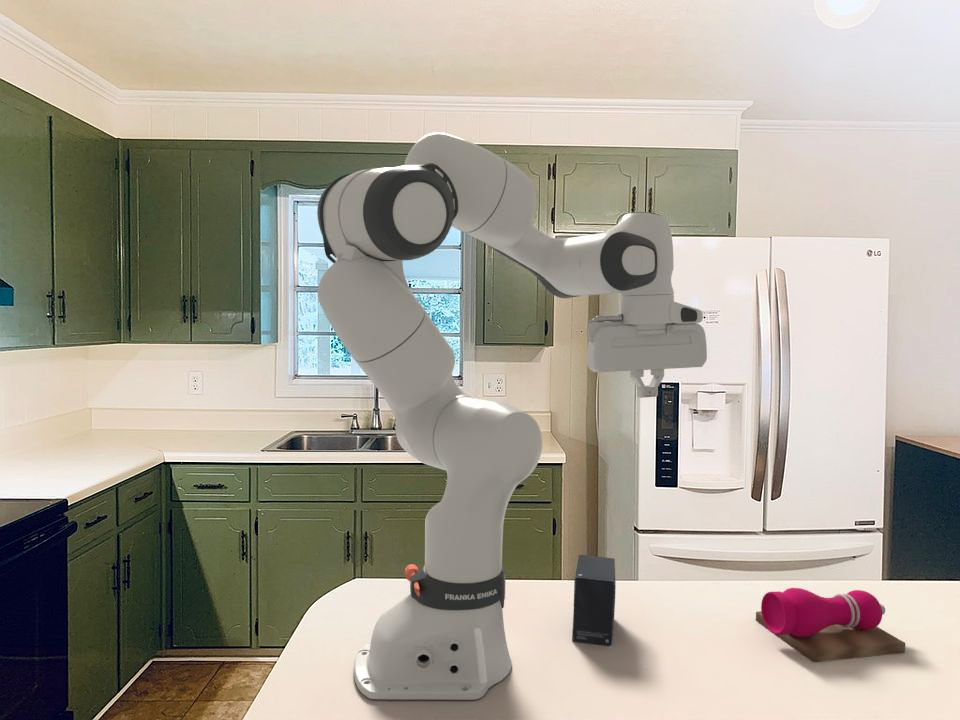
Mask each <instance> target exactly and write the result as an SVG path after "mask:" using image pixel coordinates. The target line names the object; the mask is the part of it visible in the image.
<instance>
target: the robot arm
mask: <svg viewBox="0 0 960 720" xmlns="http://www.w3.org/2000/svg"><path fill="white" fill-rule="evenodd" d="M537 201H538V199H537V192H536V188H535V185H534V182H533V180H532V179H531V178H530V177H529V176H528V175H527V174H526V173H525V172H524V171H522V170H521V169H520V168H519V167H517V166H516V165H515V164H513V163H511V162H510V161H508V160H506V159H505V158H503V157H501V156H499V155H498V154H496V153H494V152H492V151H490V150H488V149H486V148H484V147H482V146H480V145H478V144H475V143H474V142H471V141H469V140H467V139H464V138H461V137H458V136H455V135H452V134H448V133H445V132H432V133H428V134H426V135H424V136H422V137H421V138H420V139H418V141H416V142H415V144H414V145H413V146H412V147H411V148H410V150H409V152H408V154H407V155H406V158H405V161H404V165H399V166H394V167H370V168H367V169H362V170H358V171H356V172H353V173H352V172H351V173H347V174H344V175H341V176H339V177H337V178H336V179H335V180H333V181H332V182H331V183H330V184H328V185H327V186H326V188H325V189H324V190H323V192H322V193H321V196H320V197H319V200H318V204H317V211H316V213H317V214H316V215H317V222H318V227H319V229H320V234H321V236H322V241H323V247H324V248H323V249H324V253H325V256H326V258H327V259H328V260H329V261H330V262H331V263H332V264H331V265H330V266H329V268H328V269H326V270H325V272H324V274H323V275H322V277H321V279H320V280H319V283H318V287H317V298H318V302H319V305H320V306H321V309H322V311H323V313H324V315H325V317H326V319H327V321H328V322H329V324H330V326H331V328H332V329H333V332H334V333H335V334H336V336H337V338H338V340H340V342H341V344H342V346H343V347H344V348H345V350H346V351H347V353H349V355H350V356H351V357H352V359H353V360H354V361H355V363H356V364H357V365H358V366H359V367H360V368H361V370H362V371H363V373H364V374H365V375H366V376H367V377H368V379H369V380H370V381H371V382H372V384H373V385H374V386H375V388H376V389H377V390H378V391H379V393H380V394H381V395H382V397H383V399H384V400H385V401H386V403H387V405H388V406H389V408H390V411H391V412H392V414H393V417H394V419H395V426H394V428H395V435H396V436H395V437H396V440H397V442H398V444H399V445H400V447H401V449H403V450H404V452H406V453H407V454H408V455H410V456H412V457H413V458H414V459H416V460H417V461H419V462H420V463H422V464H424V465H427V466H430V467H432V468H436V469H440V470H443V471H445V472H446V475H447V477H446V478H447V479H446V486H445V490H444V492H443V496H442V499H441V500H440V501H439V502H437V503H436V504H434V505H433V506H432V507H431V508H430V509H429V510H428V512H427V514H426V517H425V520H424V565H423V566H422V567H421V568H420V569H419V568H418V566H417V565H416V564H413V563H412V564H411V563H410V564H408V565H406V567H405V568H404V575H405V578H406V580H407V581H409V584H410V585H409V588H410V591H409V594H407V596H405V597H404V598H402V600H400V601H399V602H397V603H396V604H395V605H393V606H392V607H390V608H389V609H388V610H387V611H385V612H384V613H383V614H381V615H380V616H379V617H378V619H377V621H376V622H375V625H374V628H373V631H372V635H371V639H370V642H369V643H366V644H364V645H362V647H361V648H360V649H359V650H358V652H357V653H356V656H355V659H354V664H353V665H354V666H353V677H354V682H355V684H356V687H357V688H358V690H359V691H360V693H361V694H362V695H364V696H365V697H367V698H368V699H371V700H435V701H436V700H440V701H441V700H443V701H444V700H449V701H450V700H458V701H459V700H460V701H461V700H462V701H463V700H464V701H465V700H467V701H468V700H469V701H471V700H472V701H473V700H479V699H481V698H483V696H485V694H486V693H487V692H488V690H489V689H490V688H491V687H492V686H493V685H495V684H498V683H499V682H501V681H502V680H504V679H505V678H506V677H507V676H508V675H509V673H510V672H511V670H512V658H511V656H510V652H509V648H508V644H507V638H506V631H505V624H504V614H503V612H504V611H503V609H504V607H505V599H506V576H505V569H504V568H503V539H504V538H503V537H504V536H503V535H504V522H505V515H506V511H507V507H508V504H509V502H510V499H511V497H512V495H513V493H514V491H515V489H516V488H517V487H518V486H519V484H520V483H521V482H523V481H524V480H526V479H527V478H528V477H529V476H530V475H531V474H532V473H533V472H534V470H535V469H536V468H537V465H538V464H539V462H540V459H541V455H542V451H543V439H542V438H543V437H542V432H541V428H540V426H539V424H538V422H537V421H536V419H535V418H534V417H533V416H532V415H531V414H529V413H527V412H525V411H523V410H521V409H519V408H517V407H515V406H513V405H510V404H509V403H506V402H503V401H496V400H490V399H484V398H479V397H474V396H470V395H469V394H467V393H466V392H464V391H463V390H462V389H461V388H460V387H459V386H458V385H457V383H456V380H455V379H454V376H453V371H454V369H455V366H456V365H455V364H456V355H455V353H454V350H453V348H452V347H451V345H450V344H449V342H448V341H447V340H446V338H445V337H444V336H443V333H442V332H441V331H440V330H439V328H438V327H437V325H436V324H435V323H434V321H433V319H432V318H431V317H430V315H429V314H428V312H427V311H426V309H425V308H424V307H423V305H422V304H421V302H420V301H419V300H418V299H417V297H416V295H414V293H413V292H412V291H411V289H410V286H409V284H408V282H407V280H406V276H405V273H404V266H403V265H404V263H403V261H412V260H416V259H420V258H422V257H426V256H427V255H430V254H431V253H433V252H434V251H435V250H437V249H438V248H439V247H440V246H441V245H442V244H443V243H444V241H445V240H446V238H447V236H448V234H449V233H450V230H451V228H454V229H456V230H459V231H460V232H462V233H464V234H466V235H468V236H471V237H473V238H474V239H477V240H479V241H481V242H482V243H484V244H485V245H486V246H488V247H489V248H491V249H492V250H494V251H495V252H497V253H498V254H500V255H502V256H503V257H505V258H506V259H508V260H510V261H512V262H514V263H515V264H517V265H518V266H520V267H522V268H524V269H526V270H527V271H528V272H530V273H531V274H533V275H534V276H535V277H536V278H537V280H538V281H539V282H540V283H541V284H542V285H543V286H544V288H545V289H546V290H547V291H548V292H549V293H551V294H552V295H553V296H555V297H556V298H560V299H570V298H577V297H581V296H597V295H600V296H601V295H610V294H618V314H609V315H607V314H606V315H604V314H599V315H595V316H594V318H592V319H590V320H589V322H588V323H587V326H586V330H587V332H586V334H587V339H588V343H587V353H586V354H587V355H586V366H587V368H588V369H589V370H590V371H591V372H593V373H611V372H612V373H613V372H614V373H617V372H628V371H629V373H630V377H629V378H631V380H632V381H633V383H634V385H635V387H636V396H637V398H641V399H642V398H644V399H645V398H657V397H658V396H659V388H658V387H659V386H660V385H661V384H662V383H661V382H662V381H663V379H664V377H665V370H668V369H669V370H670V369H688V368H689V369H690V368H702V367H704V365H705V364H706V362H707V357H708V354H707V353H708V347H707V336H706V332H705V329H704V327H703V326H702V325H701V324H699V323H702V321H703V319H704V317H703V316H704V314H703V311H702V310H700V309H699V308H695V307H692V306H689V305H686V304H683V303H680V302H677V301H675V293H674V292H675V291H674V288H673V284H672V275H673V271H674V265H675V264H674V243H673V235H672V231H671V227H670V223H669V221H668V219H667V218H666V217H664V216H663V215H662V214H660V213H655V212H648V211H634V212H630V213H627V214H624V215H623V216H622V218H621V221H619V222H618V223H617V224H615V225H614V226H613V227H611V228H609V229H607V230H604V232H598V233H594V234H587V235H580V236H573V237H560V238H559V237H556V238H555V237H550V236H548V235H547V234H545V233H544V232H543V231H540V230H539V229H538V228H536V227H535V226H533V225H532V224H533V222H534V219H535V215H536V212H537V204H538V202H537ZM331 255H332V256H331ZM333 257H335V258H333ZM648 370H649V371H650V376H653V377H652V379H651V381H650V383H649V385H645V383H644V381H643V379H642V378H643V377H644V374H645V373H644V372H645V371H648Z"/></svg>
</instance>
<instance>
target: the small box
mask: <svg viewBox="0 0 960 720" xmlns="http://www.w3.org/2000/svg"><path fill="white" fill-rule="evenodd" d="M573 580H574V581H573V582H574V584H573V585H574V586H573V587H574V588H573V617H572V632H571V633H572V636H571V641H572V642H578V643H587V644H594V645H595V644H596V645H604V646H611V645H612V643H613V634H614V623H615V611H616V608H615V607H616V587H617V585H616V584H617V583H616V560H615V558H613V557H606V556H595V555H586V554H578V558H577V561H576V567H575V574H574V579H573Z"/></svg>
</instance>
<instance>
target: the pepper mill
mask: <svg viewBox="0 0 960 720" xmlns="http://www.w3.org/2000/svg"><path fill="white" fill-rule="evenodd" d="M760 611H761V613H762V618H763V621H764V623H765V625H766V627H767V628H768V629H769V632H771V633H772V634H773V635H775V634H776V635H787V634H790V633H791V634H792V635H794V636H796V637H808V636H812V635H814V634H816V633H818V632H820V631H821V630H823V629H824V628H826V627H828V626H831V625H840V626H841V627H844V628H848V627H850V628H852V627H855V628H857V629H859V630H871V629H874V628H875V627H879V625H880V623H881V622H882V620H883V616H884V615H885V613H886V608H885V606H884V605H882V604H881V603H880V601H879V600H878V599H877V597H876V596H874V594H872V593H870V592H868V591H866V590H862V589H856V590H855V589H854V590H850V591H849V592H847V593H837V594H835V595H834V596H833V597H823V596H820V595H819V594H816V593H814V592H812V591H809V590H808V589H804V588H800V587H789V588H786V589H785V590H783V592H782V591H767V592H766V593H765V594H763V596H762V599H761V606H760ZM767 628H766V629H767ZM768 629H767V630H768ZM776 635H775V636H776Z"/></svg>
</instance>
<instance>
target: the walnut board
mask: <svg viewBox="0 0 960 720" xmlns="http://www.w3.org/2000/svg"><path fill="white" fill-rule="evenodd" d="M755 621H756V622H757V623H758V624H760V625H761V626H763V627H764V628H766V629H767V630H769V629H768V628H767V627H766V625H765V623H764V621H763V618H762V613H761V610H760V611H755ZM774 635H775V636H776V637H778V638H779V639H780V640H782V642H785V643H786V644H787V645H788V646H790V647H791V648H793V649H794V650H795V651H796V652H798V653H800V655H802V656H804V657H805V658H806V659H808V660H809V661H810V662H812V663H819V662H829V661H831V662H832V661H839V660H847V659H855V658H856V659H857V658H858V659H859V658H866V657H876V656H885V655H895V654H896V655H897V654H904V653H906V642H904V641H903V640H901V639H899V638H898V637H896V636H895V635H893V634H891V633H889V632H888V631H885V630H884V629H882V628H881V627H879V626H877V627H875V628H874V629H871V630H859V629H857V628H855V627H852V628H850V627H848V628H844V627H841V626H840V625H831V626H828V627H826V628H824V629H823V630H821V631H820V632H818V633H816V634H814V635H812V636H808V637H796V636H794V635H792V634H791V633H790V634H787V635H776V634H774Z"/></svg>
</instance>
